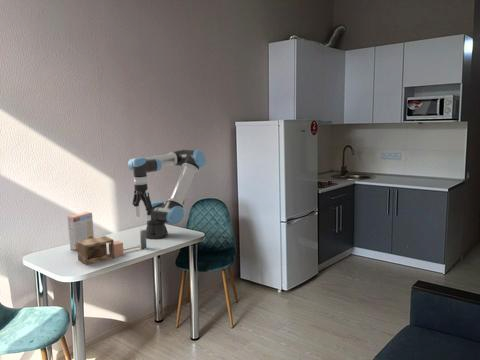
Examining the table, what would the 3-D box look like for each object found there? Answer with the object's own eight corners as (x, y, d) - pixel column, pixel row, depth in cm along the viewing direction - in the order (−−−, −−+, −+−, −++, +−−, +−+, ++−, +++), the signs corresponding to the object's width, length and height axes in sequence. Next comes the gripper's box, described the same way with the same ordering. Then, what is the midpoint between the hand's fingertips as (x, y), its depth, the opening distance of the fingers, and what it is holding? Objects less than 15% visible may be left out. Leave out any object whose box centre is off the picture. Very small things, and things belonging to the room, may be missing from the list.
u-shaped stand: (143, 246, 258) (143, 229, 257) (148, 248, 254) (147, 230, 252) (109, 254, 244) (108, 236, 242) (113, 256, 239) (112, 238, 238)
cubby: (106, 253, 245) (104, 235, 244) (114, 258, 237) (113, 239, 235) (78, 260, 235) (76, 241, 233) (86, 264, 226) (84, 245, 225)
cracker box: (88, 243, 267) (86, 211, 264) (94, 244, 264) (92, 212, 261) (69, 249, 255) (66, 215, 252) (76, 251, 252) (73, 216, 249)
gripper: (125, 182, 257) (127, 216, 260) (145, 186, 238) (147, 223, 241) (136, 180, 261) (138, 214, 265) (157, 185, 243) (159, 220, 246)
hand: (143, 218), depth 253 cm, fingers open, 13 cm apart
